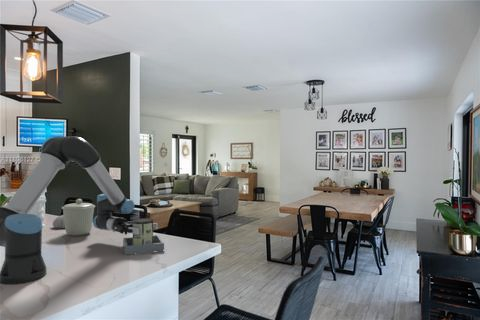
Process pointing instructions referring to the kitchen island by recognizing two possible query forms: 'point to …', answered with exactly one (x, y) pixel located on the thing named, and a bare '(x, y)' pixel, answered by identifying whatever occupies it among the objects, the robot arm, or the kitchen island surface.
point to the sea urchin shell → (59, 222)
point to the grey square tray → (142, 246)
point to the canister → (78, 218)
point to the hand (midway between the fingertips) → (148, 228)
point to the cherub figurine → (39, 208)
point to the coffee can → (143, 231)
